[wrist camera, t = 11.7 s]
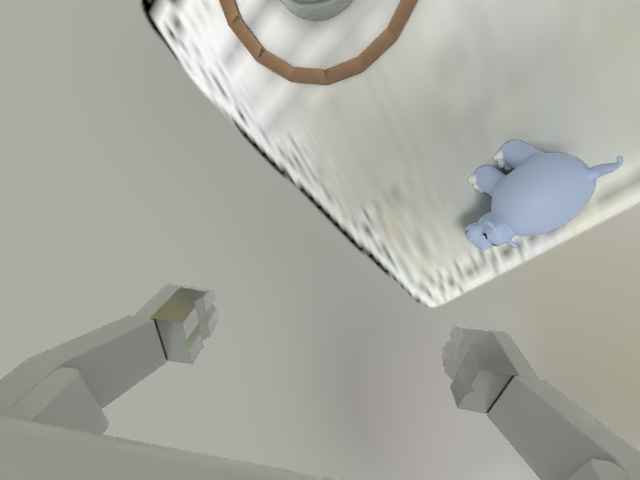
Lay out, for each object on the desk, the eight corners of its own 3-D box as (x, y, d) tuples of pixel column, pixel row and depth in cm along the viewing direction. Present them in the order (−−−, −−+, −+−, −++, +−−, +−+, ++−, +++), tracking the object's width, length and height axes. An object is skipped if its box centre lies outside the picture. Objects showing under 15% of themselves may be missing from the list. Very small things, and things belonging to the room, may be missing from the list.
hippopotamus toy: (434, 208, 38) (457, 236, 30) (530, 119, 32) (593, 124, 23) (483, 248, 40) (517, 286, 32) (582, 173, 34) (657, 195, 25)
